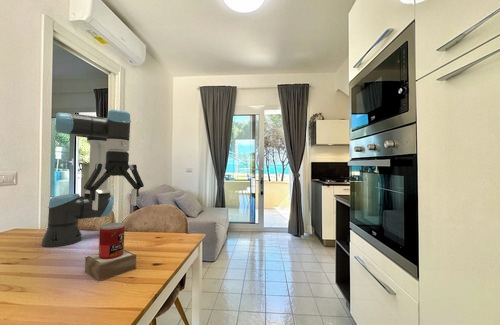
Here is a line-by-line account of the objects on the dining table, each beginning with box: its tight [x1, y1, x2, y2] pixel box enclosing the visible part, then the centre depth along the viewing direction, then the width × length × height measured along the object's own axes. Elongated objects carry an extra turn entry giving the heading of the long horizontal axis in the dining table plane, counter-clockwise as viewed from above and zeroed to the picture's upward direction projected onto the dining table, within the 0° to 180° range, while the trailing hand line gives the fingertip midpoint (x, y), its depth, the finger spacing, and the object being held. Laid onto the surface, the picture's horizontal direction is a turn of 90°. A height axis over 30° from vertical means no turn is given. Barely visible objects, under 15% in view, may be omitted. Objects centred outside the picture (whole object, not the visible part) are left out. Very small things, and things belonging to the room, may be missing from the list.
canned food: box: [98, 222, 126, 259], centre depth 82 cm, size 8×8×11 cm
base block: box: [84, 249, 137, 282], centre depth 82 cm, size 12×12×5 cm
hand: (115, 207), depth 85 cm, fingers open, 13 cm apart
